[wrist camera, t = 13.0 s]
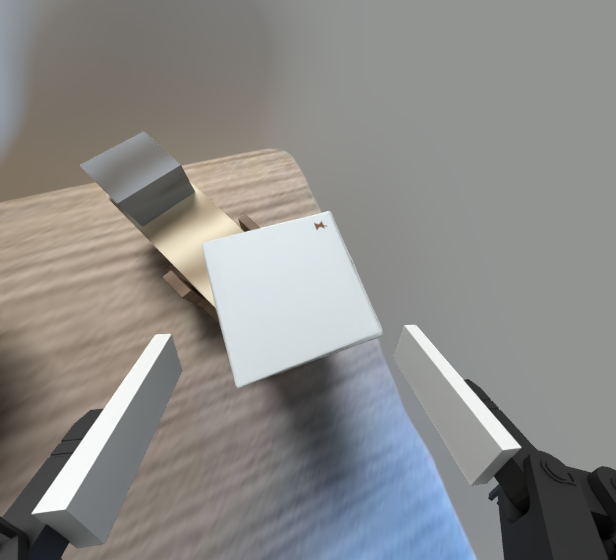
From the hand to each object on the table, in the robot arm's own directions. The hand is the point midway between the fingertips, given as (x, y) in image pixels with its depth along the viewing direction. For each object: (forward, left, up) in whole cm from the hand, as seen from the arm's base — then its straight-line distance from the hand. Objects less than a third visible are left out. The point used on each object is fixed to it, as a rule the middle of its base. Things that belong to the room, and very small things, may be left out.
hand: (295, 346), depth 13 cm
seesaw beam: (-8, +10, -12) cm, 17 cm away
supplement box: (0, +3, -10) cm, 10 cm away
